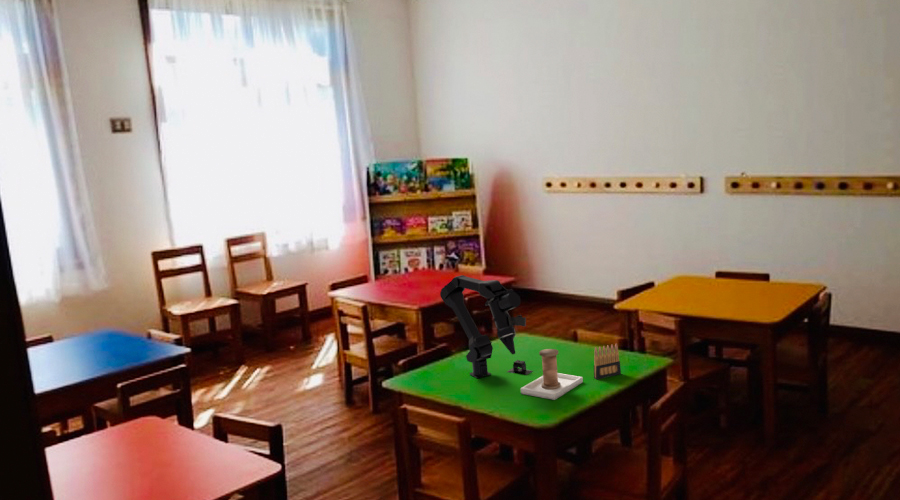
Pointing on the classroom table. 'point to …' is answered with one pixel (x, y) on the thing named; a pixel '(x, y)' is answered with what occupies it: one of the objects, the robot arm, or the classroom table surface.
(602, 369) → the ammunition clip
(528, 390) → the white rectangular tray
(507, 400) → the classroom table surface
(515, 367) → the black holed block
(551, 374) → the brown wooden spool
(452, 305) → the robot arm
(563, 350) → the classroom table surface
